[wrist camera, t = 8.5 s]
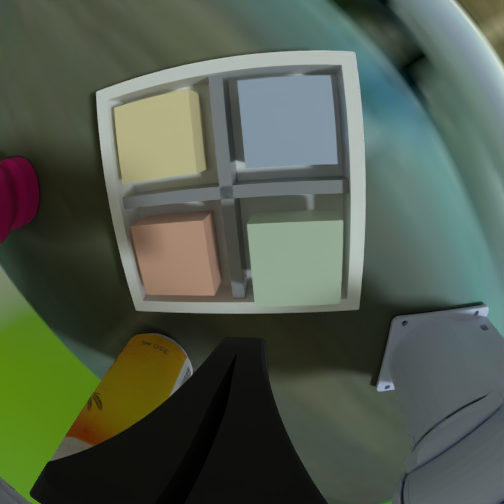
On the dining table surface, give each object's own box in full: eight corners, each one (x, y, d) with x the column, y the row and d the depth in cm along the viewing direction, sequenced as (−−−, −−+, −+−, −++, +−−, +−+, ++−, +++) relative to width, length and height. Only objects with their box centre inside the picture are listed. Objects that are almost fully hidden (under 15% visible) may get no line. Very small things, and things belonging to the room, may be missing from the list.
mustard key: (200, 94, 15) (188, 88, 12) (208, 168, 16) (196, 173, 14) (132, 109, 15) (114, 107, 13) (140, 178, 17) (122, 184, 15)
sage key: (335, 209, 15) (343, 220, 13) (334, 284, 17) (340, 304, 15) (252, 212, 16) (246, 224, 14) (258, 286, 17) (255, 306, 15)
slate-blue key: (324, 83, 14) (330, 75, 12) (331, 161, 15) (337, 164, 13) (243, 88, 14) (237, 80, 12) (251, 164, 16) (245, 168, 14)
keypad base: (346, 62, 13) (354, 51, 11) (351, 290, 19) (359, 309, 16) (116, 95, 15) (96, 91, 13) (149, 293, 21) (135, 310, 18)
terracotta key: (213, 210, 17) (202, 220, 15) (222, 278, 19) (214, 295, 17) (146, 216, 18) (130, 226, 16) (160, 279, 19) (146, 294, 17)
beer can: (122, 324, 22) (24, 460, 8) (187, 330, 21) (104, 505, 8) (141, 375, 25) (74, 501, 11) (201, 383, 24) (148, 533, 10)
